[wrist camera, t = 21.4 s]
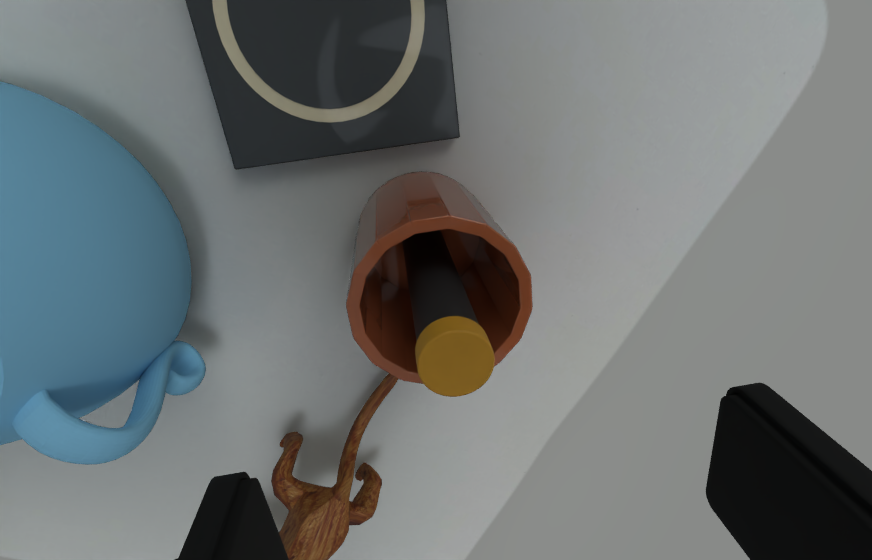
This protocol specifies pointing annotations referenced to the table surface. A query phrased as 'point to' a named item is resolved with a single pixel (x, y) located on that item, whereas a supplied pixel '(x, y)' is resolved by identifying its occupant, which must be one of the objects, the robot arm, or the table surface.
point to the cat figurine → (327, 492)
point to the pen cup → (471, 253)
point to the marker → (444, 320)
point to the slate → (326, 75)
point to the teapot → (84, 285)
